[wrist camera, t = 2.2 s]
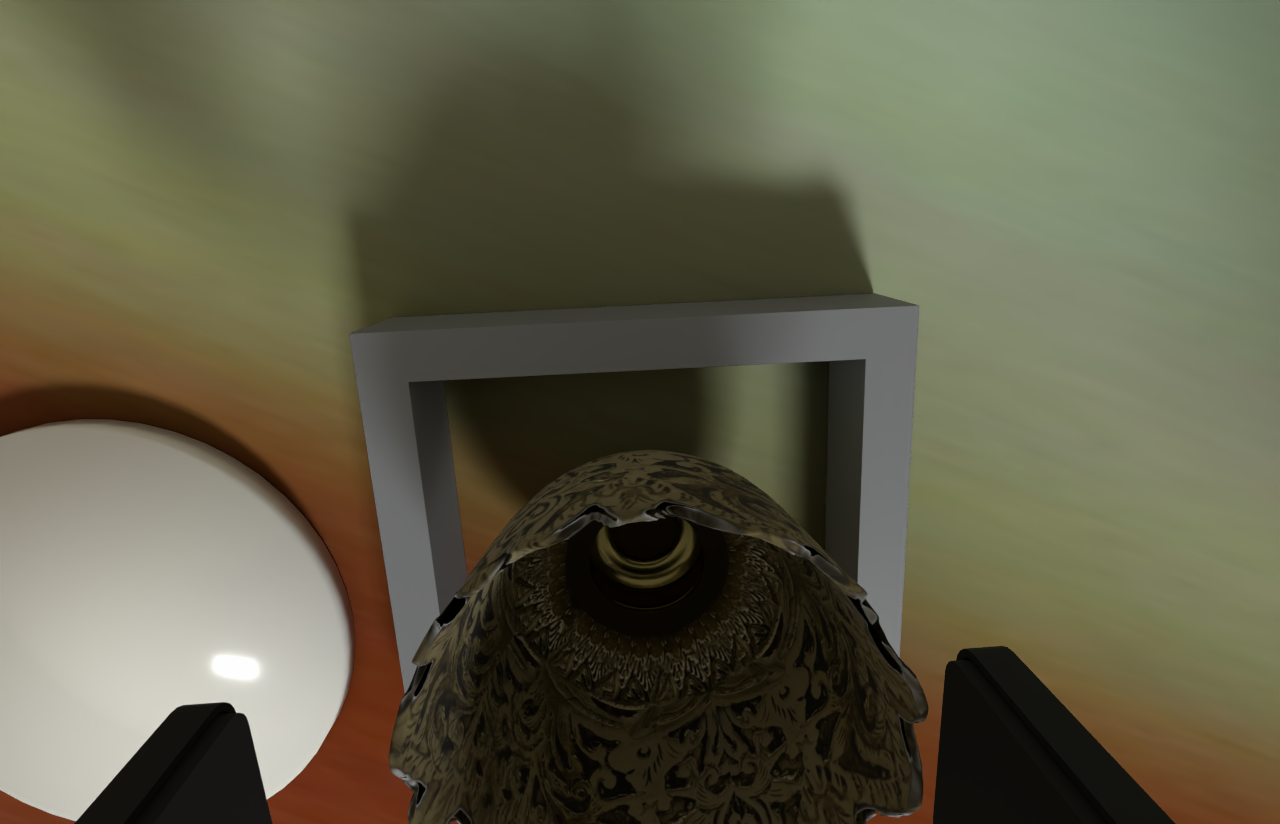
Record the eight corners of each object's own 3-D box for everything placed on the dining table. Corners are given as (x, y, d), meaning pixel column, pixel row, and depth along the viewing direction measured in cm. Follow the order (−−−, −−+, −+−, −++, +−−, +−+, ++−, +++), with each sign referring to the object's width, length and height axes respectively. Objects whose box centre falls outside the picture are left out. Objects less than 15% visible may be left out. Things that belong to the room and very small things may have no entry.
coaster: (316, 406, 16) (301, 416, 16) (383, 794, 19) (373, 818, 18) (-159, 431, 16) (-197, 441, 15) (-21, 817, 19) (-48, 842, 18)
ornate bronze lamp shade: (434, 478, 17) (274, 692, 9) (701, 323, 16) (771, 414, 8) (595, 705, 19) (575, 1044, 11) (843, 575, 18) (1011, 845, 10)
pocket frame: (874, 293, 16) (919, 306, 14) (858, 706, 19) (892, 777, 16) (390, 317, 16) (349, 333, 13) (448, 729, 19) (422, 803, 16)
